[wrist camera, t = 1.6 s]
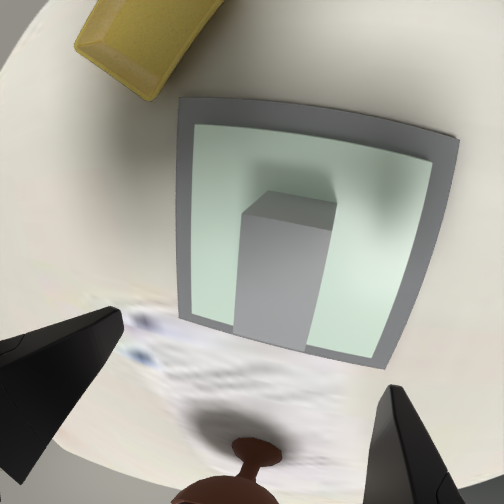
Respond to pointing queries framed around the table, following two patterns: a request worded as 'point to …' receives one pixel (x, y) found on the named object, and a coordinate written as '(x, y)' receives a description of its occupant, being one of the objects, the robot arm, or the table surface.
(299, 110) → the mat
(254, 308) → the cover
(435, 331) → the table surface
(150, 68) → the saucer
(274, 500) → the ice cream bowl
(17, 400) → the robot arm
